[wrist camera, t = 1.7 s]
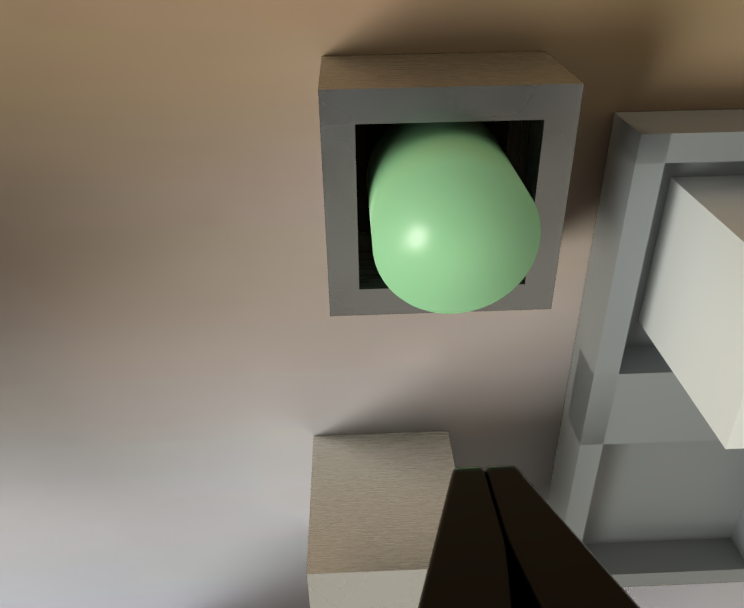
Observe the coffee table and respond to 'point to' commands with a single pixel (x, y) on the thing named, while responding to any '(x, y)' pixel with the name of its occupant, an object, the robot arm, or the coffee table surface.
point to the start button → (449, 216)
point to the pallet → (661, 357)
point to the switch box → (445, 104)
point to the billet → (375, 517)
